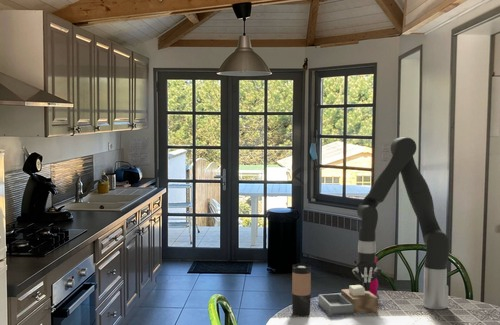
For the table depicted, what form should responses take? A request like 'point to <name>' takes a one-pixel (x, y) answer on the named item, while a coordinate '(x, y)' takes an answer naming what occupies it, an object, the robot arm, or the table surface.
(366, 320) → the table surface
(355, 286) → the cream square block
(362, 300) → the ledge
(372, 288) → the pepper mill
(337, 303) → the box
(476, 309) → the table surface
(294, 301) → the travel mug
